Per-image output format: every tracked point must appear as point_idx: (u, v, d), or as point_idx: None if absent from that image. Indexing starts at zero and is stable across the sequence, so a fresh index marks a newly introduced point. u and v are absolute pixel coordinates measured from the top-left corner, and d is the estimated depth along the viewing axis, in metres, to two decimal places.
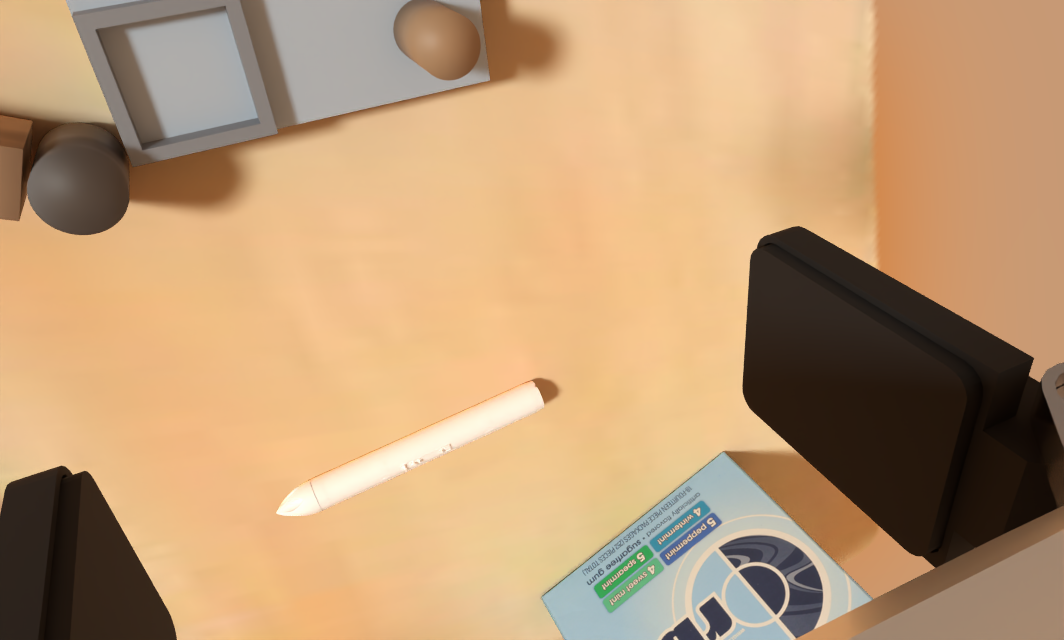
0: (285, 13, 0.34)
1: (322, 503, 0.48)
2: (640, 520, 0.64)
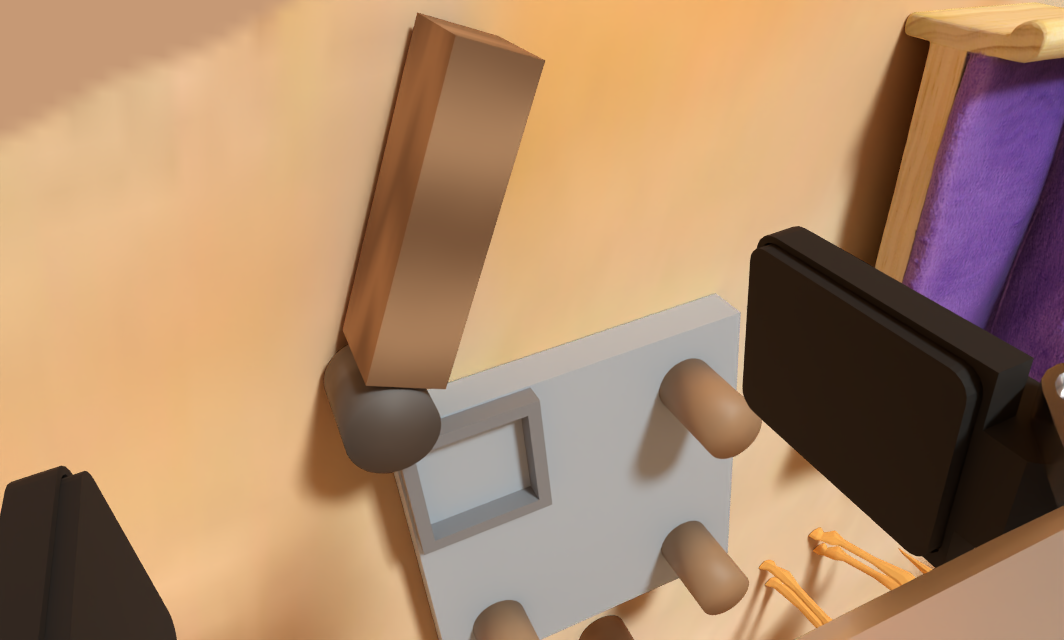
0: (518, 527, 0.38)
1: None
2: None
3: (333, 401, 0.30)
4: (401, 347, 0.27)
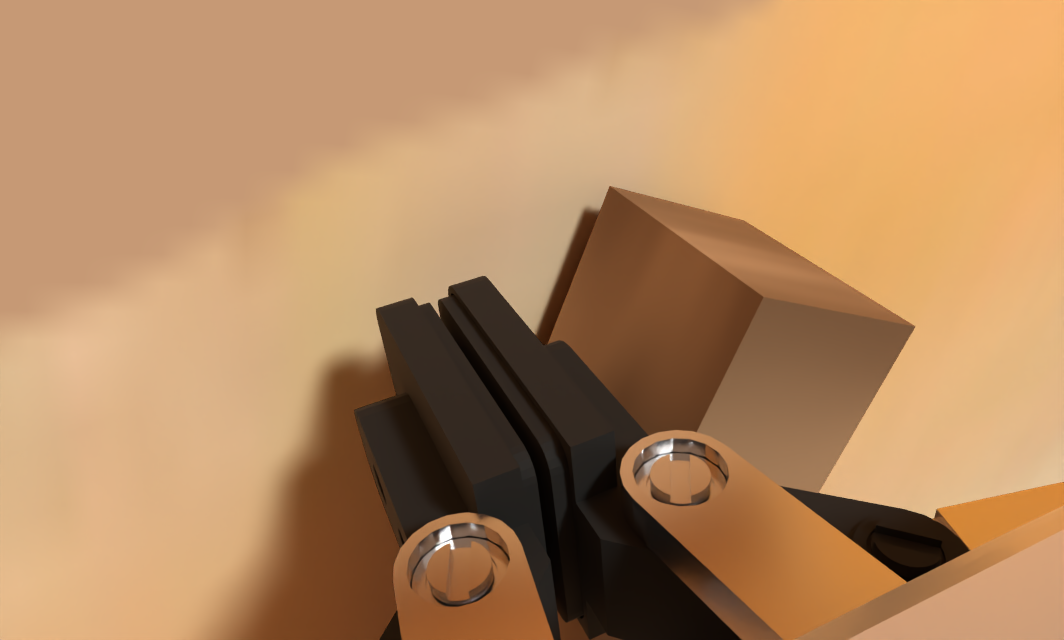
0: None
1: None
2: None
3: None
4: None
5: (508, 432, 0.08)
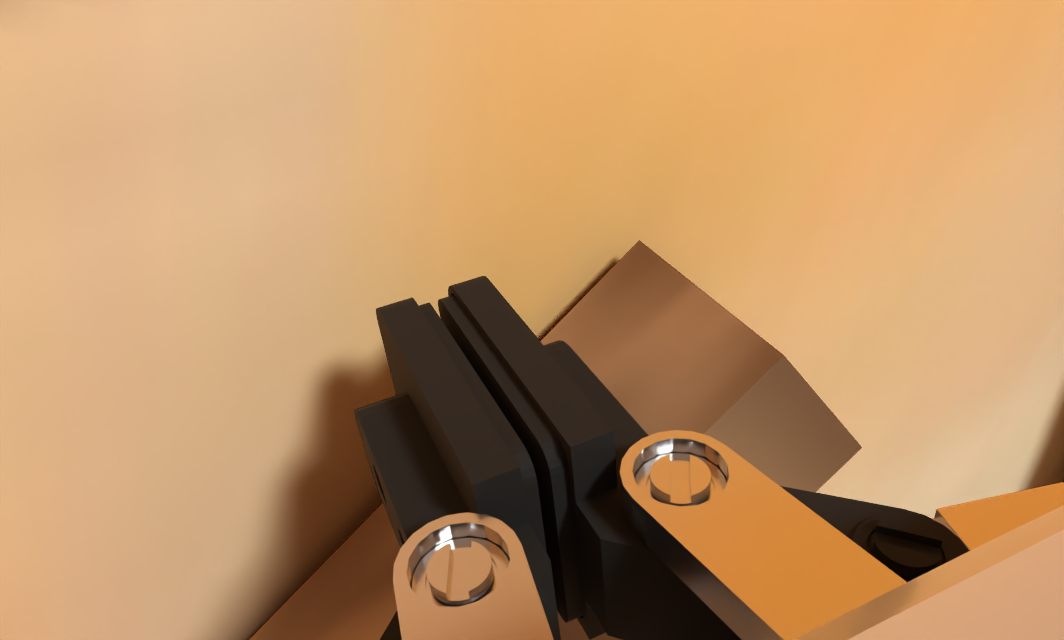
0: None
1: None
2: None
3: None
4: None
5: (508, 432, 0.08)
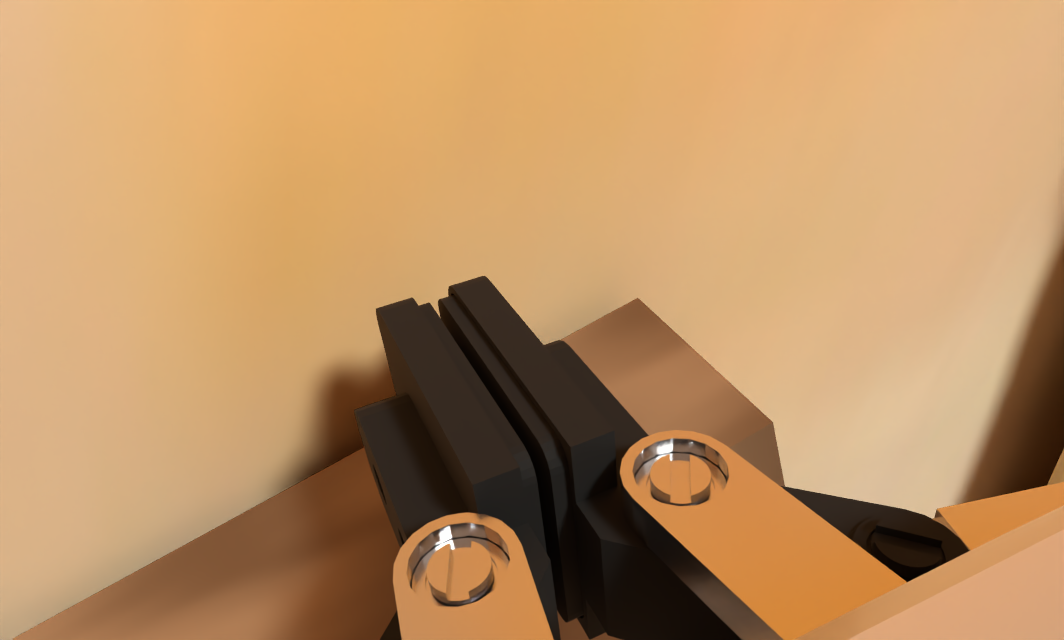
0: None
1: None
2: None
3: None
4: None
5: (508, 432, 0.08)
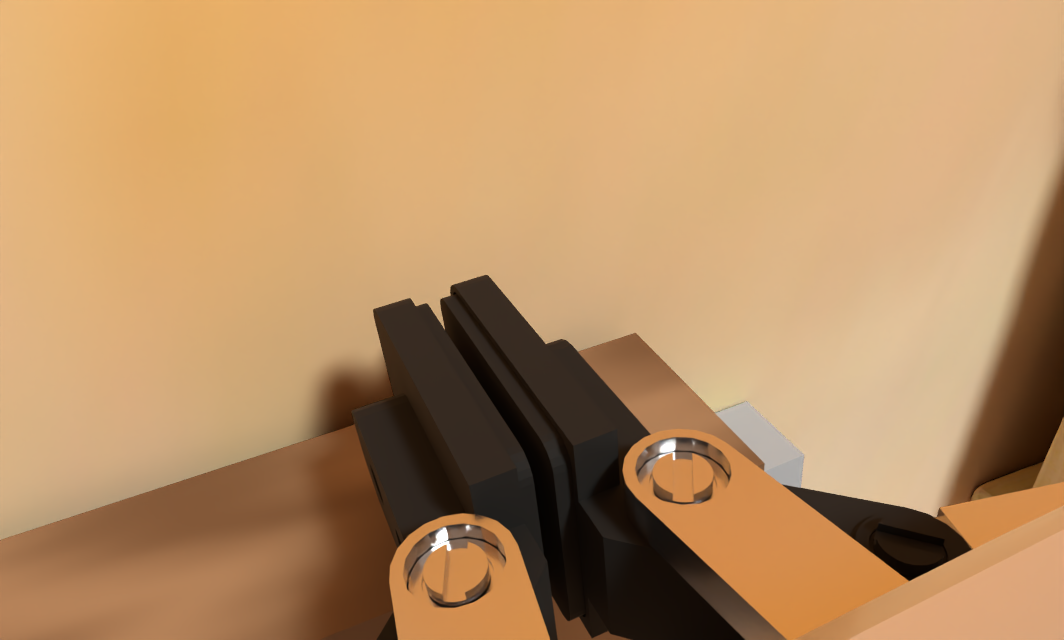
0: None
1: None
2: None
3: None
4: None
5: (505, 433, 0.08)
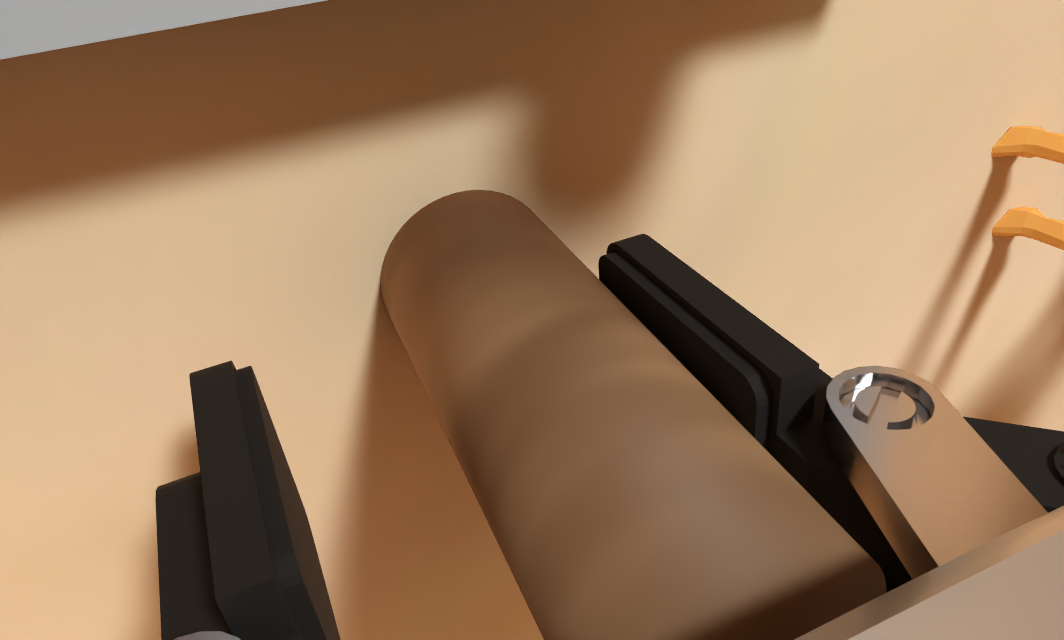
0: None
1: None
2: None
3: None
4: None
5: (281, 530, 0.08)
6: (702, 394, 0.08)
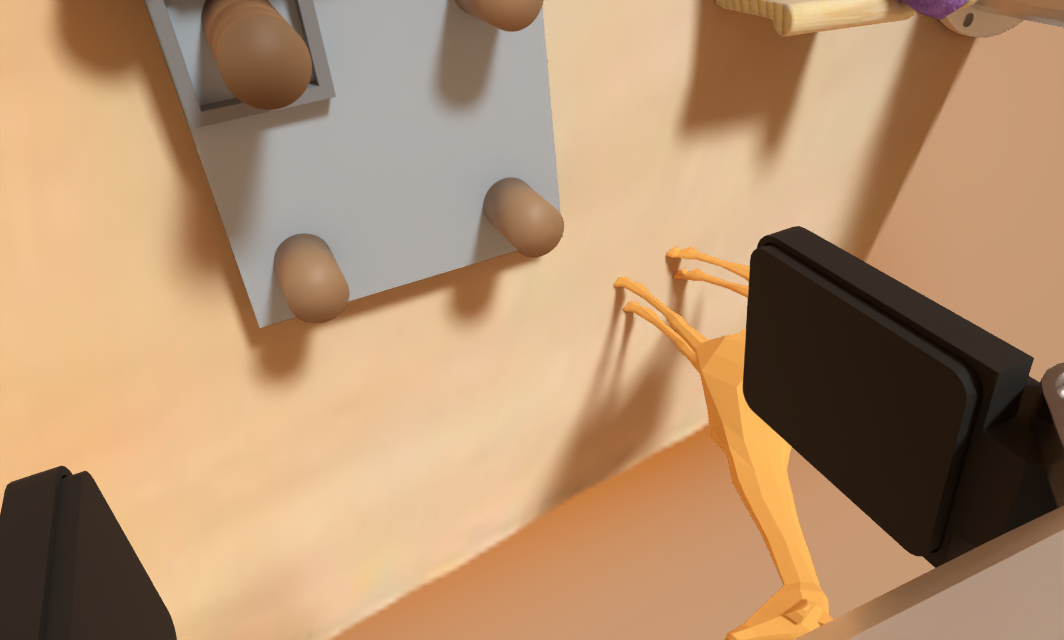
0: (308, 136, 0.36)
1: None
2: None
3: None
4: None
5: None
6: (274, 12, 0.28)
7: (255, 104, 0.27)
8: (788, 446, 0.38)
